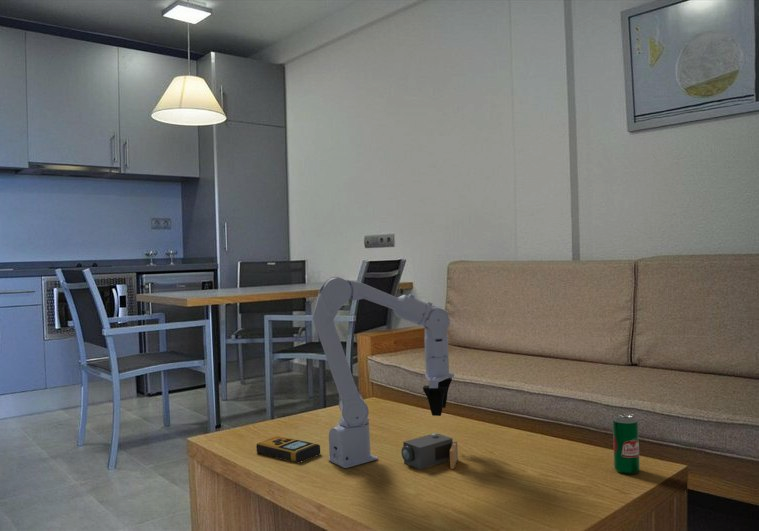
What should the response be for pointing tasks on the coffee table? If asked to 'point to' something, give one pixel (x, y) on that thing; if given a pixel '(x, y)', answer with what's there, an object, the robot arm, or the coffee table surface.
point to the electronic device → (288, 448)
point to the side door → (453, 455)
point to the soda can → (626, 443)
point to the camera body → (427, 450)
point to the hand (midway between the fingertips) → (439, 411)
